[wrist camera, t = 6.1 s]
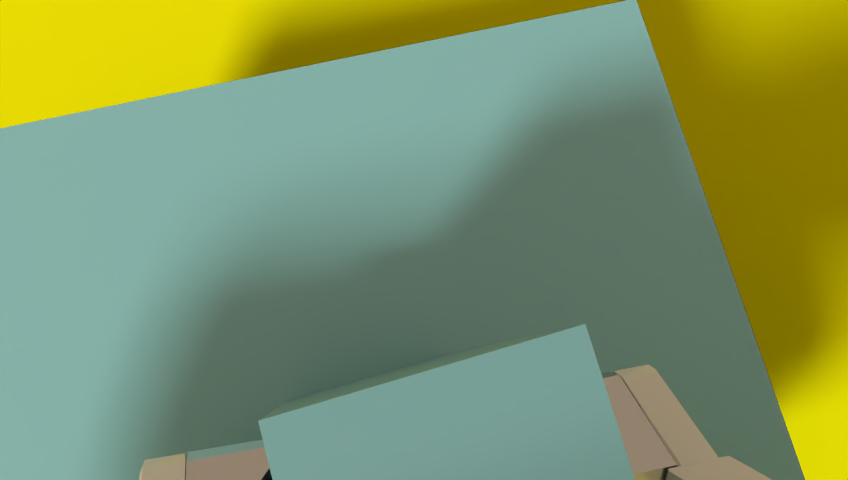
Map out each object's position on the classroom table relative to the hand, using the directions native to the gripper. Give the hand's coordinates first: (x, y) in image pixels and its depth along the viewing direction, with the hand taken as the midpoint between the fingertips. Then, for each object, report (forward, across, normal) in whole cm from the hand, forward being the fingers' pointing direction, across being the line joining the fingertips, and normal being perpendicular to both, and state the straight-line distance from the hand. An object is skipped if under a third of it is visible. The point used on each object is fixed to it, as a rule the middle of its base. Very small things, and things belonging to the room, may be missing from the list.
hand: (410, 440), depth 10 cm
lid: (+3, 0, +4) cm, 5 cm away
